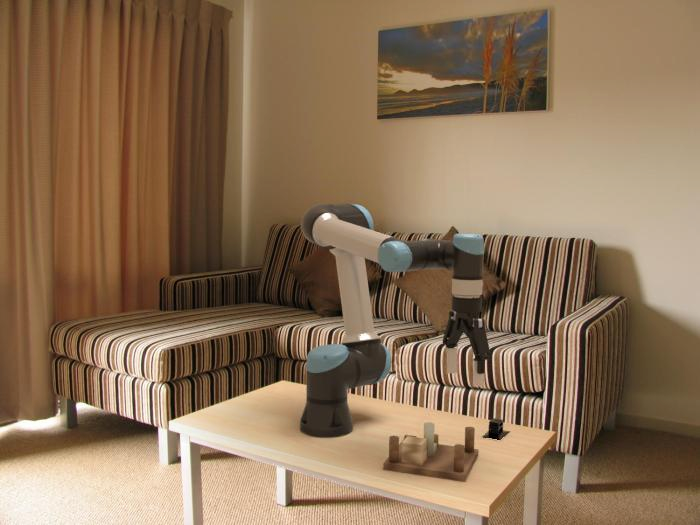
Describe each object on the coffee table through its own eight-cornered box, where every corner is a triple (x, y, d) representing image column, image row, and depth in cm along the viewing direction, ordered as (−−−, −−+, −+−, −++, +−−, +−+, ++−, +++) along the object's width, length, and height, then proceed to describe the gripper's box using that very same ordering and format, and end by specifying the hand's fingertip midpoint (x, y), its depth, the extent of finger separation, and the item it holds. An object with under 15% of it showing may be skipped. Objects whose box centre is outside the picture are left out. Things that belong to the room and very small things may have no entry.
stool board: (383, 469, 173) (383, 439, 172) (403, 445, 190) (403, 417, 189) (465, 481, 166) (466, 450, 165) (478, 455, 183) (479, 426, 182)
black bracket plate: (500, 445, 193) (501, 428, 192) (475, 440, 196) (475, 424, 196) (514, 432, 203) (515, 416, 203) (489, 427, 207) (490, 412, 207)
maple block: (401, 462, 173) (402, 442, 173) (406, 455, 178) (407, 436, 178) (421, 465, 172) (422, 445, 171) (426, 458, 176) (426, 438, 176)
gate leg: (432, 457, 177) (433, 426, 176) (422, 456, 177) (422, 424, 177) (438, 449, 183) (438, 418, 182) (428, 447, 183) (428, 417, 183)
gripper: (507, 302, 167) (504, 390, 169) (456, 288, 190) (454, 366, 192) (479, 303, 164) (476, 393, 166) (431, 289, 188) (429, 368, 190)
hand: (464, 379), depth 179 cm, fingers open, 13 cm apart
